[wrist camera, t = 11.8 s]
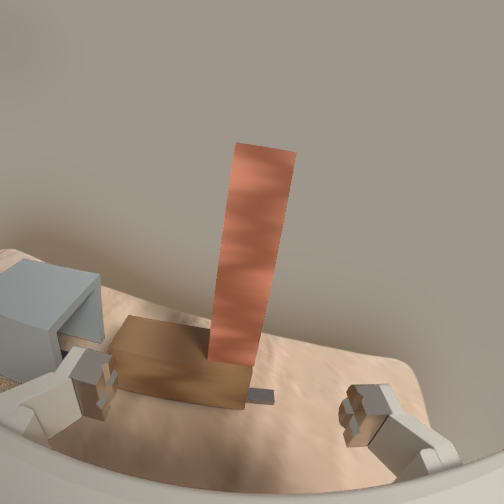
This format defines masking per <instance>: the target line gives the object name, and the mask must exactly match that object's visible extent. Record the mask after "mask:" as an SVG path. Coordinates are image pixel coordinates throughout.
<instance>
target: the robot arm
mask: <svg viewBox="0 0 504 504" xmlns="http://www.w3.org/2000/svg"><path fill="white" fill-rule="evenodd" d="M115 366H116V360H115V357H114V356H113V355H109V354H105V353H102V352H98V351H95V350H91V349H86V348H83V347H80V346H77V345H75V346H73V347H72V348H71V350H70V351H69V353H68V354H67V355H66V357H65V358H64V360H63V361H62V363H61V364H60V365H59V367H58V368H57V370H56V371H55V373H53V372H50V373H47V374H45V375H43V376H40V377H38V378H36V379H33V380H31V381H28V382H26V383H24V384H21V385H19V386H17V387H14V388H12V389H9V390H7V391H4V392H2V393H0V504H504V449H503V450H501V451H499V452H496V453H494V454H491V455H489V456H486V457H484V458H481V459H478V460H476V461H473V462H470V463H467V464H464V465H463V463H462V462H461V460H460V458H459V456H458V454H457V452H456V450H455V448H454V446H453V445H452V443H451V442H450V441H448V440H447V439H445V438H444V437H442V436H441V435H439V434H438V433H436V432H435V431H433V430H432V429H431V428H429V427H428V426H426V425H425V424H423V423H422V422H420V421H419V420H417V419H416V418H414V417H413V416H412V415H410V414H409V413H404V411H403V409H402V407H401V405H400V403H399V401H398V399H397V397H396V395H395V393H394V391H393V389H392V387H391V386H390V385H389V384H376V385H375V384H365V385H351V386H350V387H349V388H348V390H347V392H346V393H347V396H348V397H347V398H345V399H344V400H343V401H342V402H341V405H340V407H339V413H338V416H339V422H340V425H341V426H342V427H344V428H345V431H344V433H343V436H344V440H345V443H346V446H347V447H367V446H368V448H369V449H370V450H371V452H372V453H373V454H374V455H375V456H376V457H377V458H378V459H379V460H380V461H381V462H382V463H383V464H384V465H385V466H386V467H387V468H388V469H389V470H390V471H391V472H392V473H393V474H394V475H395V476H397V478H396V479H395V480H394V481H393V482H392V483H391V484H386V485H381V486H375V487H368V488H361V489H354V490H345V491H335V492H323V493H305V494H254V493H236V492H224V491H214V490H205V489H197V488H190V487H184V486H177V485H172V484H166V483H161V482H156V481H151V480H147V479H142V478H138V477H134V476H130V475H126V474H122V473H119V472H115V471H112V470H108V469H105V468H101V467H98V466H95V465H92V464H89V463H86V462H83V461H80V460H77V459H75V458H72V457H69V456H66V455H64V454H61V453H59V452H56V451H54V450H52V448H51V446H50V444H49V442H48V440H49V439H50V438H52V437H53V436H55V435H56V434H58V433H59V432H61V431H62V430H64V429H65V428H67V427H68V426H69V425H71V424H72V423H74V422H75V421H77V420H78V419H79V418H81V417H82V415H83V416H86V417H90V418H93V419H97V420H101V421H105V419H106V416H107V414H108V412H109V409H110V405H109V401H111V400H113V399H114V398H115V395H116V392H117V388H118V374H117V373H116V372H115V370H114V368H115Z"/></svg>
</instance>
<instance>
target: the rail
mask: <svg viewBox="0 0 504 504" xmlns="http://www.w3.org/2000/svg"><path fill="white" fill-rule="evenodd" d="M60 351H61V355H62V360H64V358H65V357H66V355H67V354H68V353H69V352H67V351H63V350H60ZM274 402H275V401H274V390H268V389H257V388H249V390H248V395H247V399H246V403H256V404H269V405H274Z"/></svg>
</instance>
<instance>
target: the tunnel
mask: <svg viewBox="0 0 504 504" xmlns="http://www.w3.org/2000/svg"><path fill="white" fill-rule="evenodd" d="M57 332H60V333H64V334H67V335H71V336H74V337H78V338H82V339H85V340H89V341H93V342H97V343H102V342H103V340H104V338H105V334H104V324H103V313H102V301H101V285H100V274H96V273H91V272H85V271H81V270H76V269H71V268H66V267H61V266H56V265H51V264H47V263H42V262H38V261H33V260H28V259H22V260H21V261H19V262H18V263H16V264H15V265H13V266H12V267H10V268H9V269H7V270H6V271H5V272H3V273H2V274H0V374H1V375H3V376H5V377H7V378H10V379H12V380H14V381H16V382H19V383H21V384H24V383H26V382H28V381H31V380H33V379H36V378H38V377H40V376H43V375H45V374H47V373H50V372H53V373H55V371H56V370H57V368H58V367H59V365H60V364H61V363H62V361H63V360H62V355H61V351H60V347H59V342H58V337H57Z"/></svg>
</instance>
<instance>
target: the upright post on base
mask: <svg viewBox="0 0 504 504" xmlns="http://www.w3.org/2000/svg"><path fill="white" fill-rule="evenodd" d="M295 157H296V153H295V152H291V151H286V150H280V149H274V148H268V147H263V146H256V145H250V144H243V143H236V145H235V152H234V158H233V164H232V171H231V177H230V184H229V191H228V198H227V205H226V213H225V219H224V227H223V233H222V241H221V249H220V256H219V264H218V272H217V279H216V288H215V297H214V304H213V313H212V321H211V329H206V328H199V327H193V326H187V325H181V324H175V323H169V322H163V321H158V320H152V319H147V318H142V317H137V316H131V315H128V317H127V318H126V320H125V322H124V323H123V325H122V326H121V328H120V330H119V331H118V333H117V335H116V336H115V338H114V340H113V342H112V343H111V345H110V347H109V353H110V355H113V356H114V357H115V360H116V366H115V368H114V370H115V372H116V373H117V374H118V388H120V389H124V390H128V391H132V392H137V393H141V394H146V395H150V396H155V397H160V398H165V399H171V400H176V401H182V402H188V403H194V404H201V405H208V406H215V407H223V408H231V409H240V410H244V408H245V403H246V399H247V395H248V390H249V386H250V381H251V377H252V366H254V363H255V359H256V354H257V350H258V345H259V340H260V336H261V331H262V326H263V322H264V317H265V312H266V307H267V302H268V298H269V293H270V288H271V283H272V278H273V273H274V268H275V263H276V258H277V253H278V248H279V243H280V237H281V233H282V228H283V223H284V217H285V212H286V207H287V201H288V196H289V191H290V185H291V179H292V174H293V169H294V163H295Z"/></svg>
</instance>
